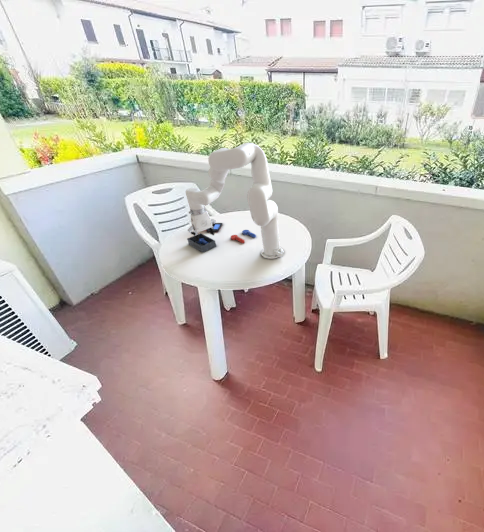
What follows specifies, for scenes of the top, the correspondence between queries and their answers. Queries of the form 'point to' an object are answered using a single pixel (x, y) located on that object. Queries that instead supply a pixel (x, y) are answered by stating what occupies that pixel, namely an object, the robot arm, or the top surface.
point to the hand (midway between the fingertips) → (205, 237)
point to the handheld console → (216, 227)
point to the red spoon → (237, 238)
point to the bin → (202, 246)
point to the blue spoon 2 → (248, 233)
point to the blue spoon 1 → (202, 241)
